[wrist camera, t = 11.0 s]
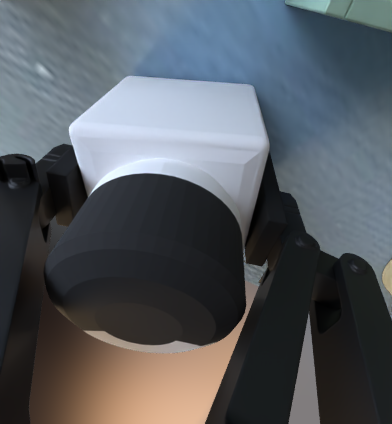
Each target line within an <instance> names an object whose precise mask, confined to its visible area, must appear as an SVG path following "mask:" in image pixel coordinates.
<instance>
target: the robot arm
mask: <svg viewBox="0 0 392 424" xmlns="http://www.w3.org/2000/svg"><path fill="white" fill-rule="evenodd" d="M87 198H88V196H87V192H86V189H85V186H84V182H83V179H82V175H81V172H80V168H79V165H78V162H77V158H76V155H75V151H74V148H73V145H72V146H71V145H67V144H62V145H59V146H57V147H54V148H53V149H52V150H51V151H50V152H49V153H48V154H46V155H45V156H44V157H43V159H41V160H40V161H38V162H37V163H36V164H35V160H34V159H33V158H32V157H30V156H27V155H23V154H9V155H5V156H1V157H0V424H30V415H29V400H30V392H31V384H32V376H33V369H34V360H35V353H36V346H37V338H38V330H39V322H40V314H41V307H42V299H43V291H44V283H45V280H44V273H43V271H44V265H45V262H46V260H47V258H48V252H49V244H50V237H51V224H50V221H51V220H52V219H53V217H54V216H55V215H56V220H57V224H58V225H63V226H69V225H70V223H71V222H72V220H73V219H74V217H75V216H76V214H77V213H78V212H79V210H80V209H81V207H82V206H83V204H84V203H85V201H86V200H87ZM245 254H246V263H248V264H253V265H258V266H263V264H264V263H265V261H266V259H267V261H268V268H267V269H266V271H265V273H264V274H263V276H262V277H261V279H260V280H259V283H260V285H259V288H258V290H257V293H256V296H255V298H254V301H253V303H252V306H251V308H250V311H249V313H248V316H247V318H246V321H245V323H244V326H243V328H242V331H241V333H240V336H239V339H238V341H237V344H236V346H235V349H234V351H233V354H232V356H231V359H230V361H229V364H228V367H227V369H226V372H225V374H224V377H223V379H222V382H221V384H220V387H219V389H218V392H217V394H216V397H215V399H214V402H213V404H212V407H211V410H210V412H209V414H208V417H207V420H206V422H205V424H288V422H289V417H290V411H291V406H292V400H293V395H294V390H295V384H296V379H297V373H298V367H299V362H300V357H301V352H302V346H303V341H304V335H305V330H306V324H307V319H308V314H309V315H310V325H311V334H312V345H313V355H314V365H315V376H316V386H317V396H318V406H319V416H320V424H392V320H391V317H390V314H389V311H388V309H387V306H386V303H385V300H384V297H383V295H382V292H381V289H380V286H379V283H378V281H377V278H376V275H375V272H374V270H373V269H372V267H371V266H370V265H369V264H368V263H367V262H366V261H365V260H364V259H363V258H361V257H359V256H357V255H355V254H351V253H345V254H343V255H342V256H341V257H340V258H339V259H338V258H336V257H334V256H331V255H329V254H327V253H325V252H323V251H321V250H320V246H319V244H318V242H317V241H316V240H315V239H314V238H313V237H312V236H310V235H309V234H307V233H306V230H305V227H304V224H303V221H302V218H301V215H300V212H299V209H298V205H297V202H296V200H295V199H294V198H293V197H292V195H291V194H290V193H285V192H281V191H279V187H278V183H277V179H276V175H275V171H274V167H273V163H272V159H271V156H270V152H269V153H268V157H267V160H266V164H265V168H264V172H263V176H262V180H261V184H260V188H259V192H258V196H257V200H256V204H255V208H254V212H253V216H252V220H251V224H250V228H249V232H248V236H247V240H246V244H245Z"/></svg>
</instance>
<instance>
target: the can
mask: <svg viewBox="0 0 392 424" xmlns="http://www.w3.org/2000/svg"><path fill="white" fill-rule="evenodd" d="M382 280H383V284H384V286H385V287H386V289H387V290H388V291H389V292H390V293H391V295H392V259H391V260H390V261H389V263H388V264H387V265H386V267H385V269H384V271H383V275H382Z"/></svg>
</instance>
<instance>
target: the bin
mask: <svg viewBox="0 0 392 424" xmlns="http://www.w3.org/2000/svg"><path fill="white" fill-rule="evenodd" d="M285 4H286V5H290V6H293V7H297V8H301V9H305V10H308V11H312V12H316V13H319V14H323V15H327V16H331V17H334V18H338V19H342V20H346V21H349V22H353V23H357V24H361V25H364V26H368V27H372V28H375V29H379V30H383V31H387V32H390V33H392V0H286V1H285Z"/></svg>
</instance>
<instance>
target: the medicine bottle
mask: <svg viewBox="0 0 392 424" xmlns="http://www.w3.org/2000/svg"><path fill="white" fill-rule="evenodd" d="M69 134H70V138H71V141H72V144H73V148H74V151H75V155H76V158H77V162H78V165H79V168H80V172H81V175H82V179H83V182H84V186H85V189H86V192H87V196H88V198H87V200H86V201H85V203H84V204H83V206H82V207H81V209H80V210H79V212H78V213H77V214H76V216H75V217H74V219H73V220H72V222H71V223H70V225H69V226H68V228H67V229H66V231H65V232H64V234H63V235H62V237H61V238H60V240H59V241H58V243H57V244H56V246H55V247H54V249H53V250H52V252H51V253H50V254H49V256H48V258H47V260H46V262H45V265H44V271H43V273H44V280H45V285H46V289H47V292H48V295H49V298H50V299H51V301H52V303H53V304H54V306H55V307H56V308H57V309H58V310H59V311H60V312H61V313H62V314H63V315H64V316H65V317H67V319H69V320H70V321H71V322H73V323H74V324H75V325H76V326H78V327H79V328H81V329H82V330H83V331H85V332H86V333H88V334H90V335H92V336H93V337H95V338H97V339H100V340H102V341H104V342H107V343H109V344H112V345H115V346H119V347H122V348H126V349H130V350H136V351H142V352H148V353H178V352H185V351H189V350H194V349H197V348H201V347H205V346H208V345H211V344H213V343H216V342H218V341H220V340H222V339H223V338H225V337H226V336H227V335H228V334H230V332H231V331H232V330H233V329H234V328H235V327H236V326H237V324H238V323H239V322H240V321H241V319H242V317H243V315H244V313H245V309H246V296H245V278H244V260H243V251H244V248H245V244H246V240H247V236H248V232H249V228H250V224H251V220H252V216H253V212H254V208H255V204H256V200H257V196H258V192H259V188H260V184H261V180H262V176H263V172H264V168H265V164H266V160H267V157H268V153H269V149H270V142H269V138H268V135H267V131H266V127H265V124H264V120H263V117H262V113H261V109H260V106H259V102H258V98H257V95H256V91H255V88H254V87H253V86H252V85H249V84H236V83H222V82H209V81H195V80H181V79H168V78H154V77H141V76H127V77H126V78H124V79H123V80H122V81H121V82H120V83H119V84H117V85H116V86H115V87H114V88H113V89H111V90H110V91H109V92H108V93H107V94H106V95H104V96H103V97H102V98H101V99H100V100H99V101H97V102H96V103H95V104H94V105H93V106H92V107H90V108H89V109H88V110H87V111H86V112H84V113H83V114H82V115H81V116H80V117H79V118H77V119H76V120H75V121H74V122H73V123H72V124H71V125H70V128H69Z"/></svg>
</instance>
